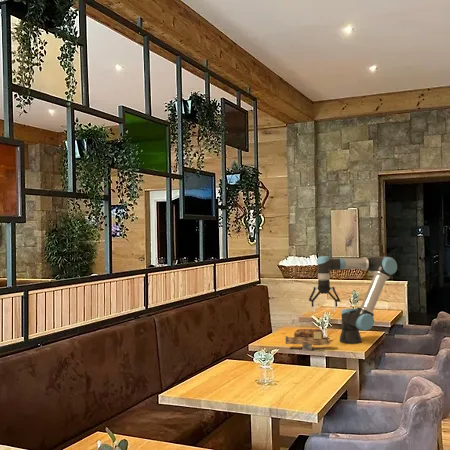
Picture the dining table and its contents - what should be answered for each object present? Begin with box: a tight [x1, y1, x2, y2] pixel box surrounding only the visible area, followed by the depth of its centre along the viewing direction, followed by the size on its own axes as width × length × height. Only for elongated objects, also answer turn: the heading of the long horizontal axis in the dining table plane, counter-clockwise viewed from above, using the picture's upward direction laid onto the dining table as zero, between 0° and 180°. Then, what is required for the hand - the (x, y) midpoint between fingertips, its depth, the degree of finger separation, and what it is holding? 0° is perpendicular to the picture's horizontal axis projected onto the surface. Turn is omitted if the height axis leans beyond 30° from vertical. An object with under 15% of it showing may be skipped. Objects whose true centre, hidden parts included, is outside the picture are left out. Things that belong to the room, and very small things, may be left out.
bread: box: [293, 328, 324, 346], centre depth 385 cm, size 19×11×10 cm, turn 66°
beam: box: [285, 335, 330, 352], centre depth 366 cm, size 28×8×8 cm, turn 81°
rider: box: [314, 332, 322, 339], centre depth 365 cm, size 5×6×5 cm
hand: (324, 311), depth 365 cm, fingers open, 13 cm apart
